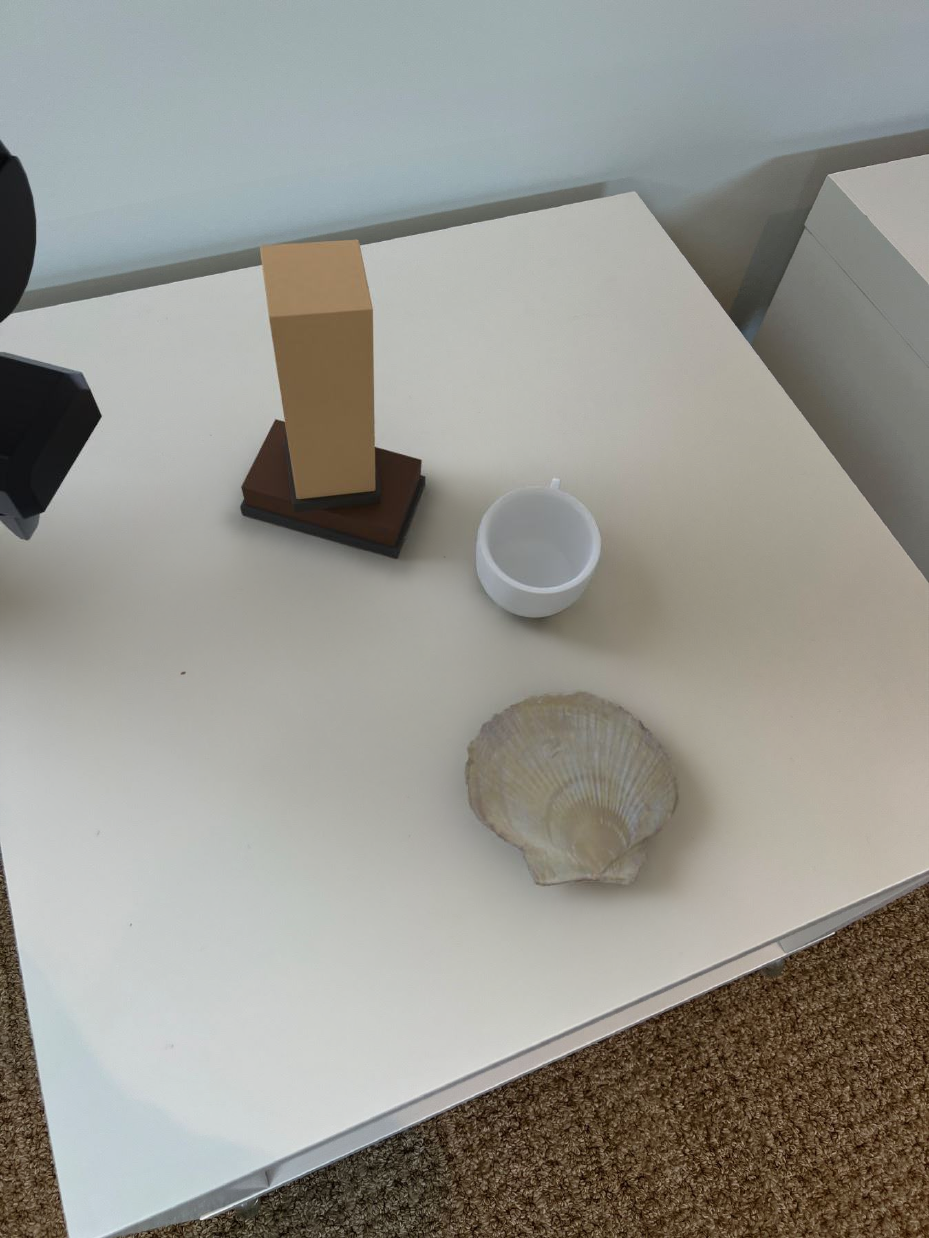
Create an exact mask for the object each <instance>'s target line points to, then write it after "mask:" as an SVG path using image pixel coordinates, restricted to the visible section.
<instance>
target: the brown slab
mask: <svg viewBox="0 0 929 1238" xmlns="http://www.w3.org/2000/svg"><path fill="white" fill-rule="evenodd" d="M284 435H287V432H286V426H285V420H280V419H277V418H275V419H274V421H273V423H272V425H271V426H270V429H269V431H268V433H267V434H266V437H265V439H264V440H263V443H262V445H261V447H260V448H259V450H258V453H257V455H256V456H255V459H254V460H253V462H252V465H251V466H250V468H249V470H248V472H247V475H246V477H245V478H244V481H243V483H242V485H241V487H240V488H241V493H242V496H243V499H242V502H241V504H240V507H239V508H240V512H241V515H242V516H245V517H248V518H252V519H256V520H258V521H262V522H265V523H269V524H273V525H276V526H279V527H284V528H287V529H290V530H293V531H297V532H301V533H304V534H309V535H311V536H315V537H318V538H322V539H325V540H329V541H332V542H336V543H338V544H342V545H347V546H350V547H353V548H357V549H360V550H364V551H368V552H371V553H374V554H377V555H378V554H379V555H381V556H385V557H388V558H392V559H396V560H397V559H398V558H399V556H400V553H401V551H402V547H403V545H404V541H405V540H406V537H407V534H408V532H409V530H410V526H411V523H412V522H413V521H412V520H413V519H414V515H415V513H416V511H417V507H418V505H419V502H420V501H421V500H420V499H421V497H422V494H423V492H424V489H425V487H426V480H427V479H426V477H427V476H425V475H422V461H423V460H422V459H420V458H417V457H413V456H410V455H406V454H402V453H399V452H395V451H392V450H389V449H384V448H381V447H378V446H375V465H376V471H377V476H378V482H379V487H380V492H381V503H378V504H369V505H360V506H351V507H342V508H333V509H325V510H316V511H307V512H298V513H294V510H293V504H292V496H291V488H290V480H289V473H288V465H287V457H286V449H285V441H284Z"/></svg>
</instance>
